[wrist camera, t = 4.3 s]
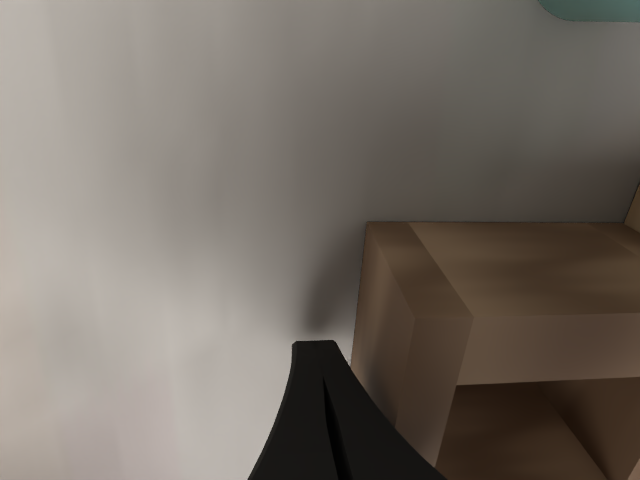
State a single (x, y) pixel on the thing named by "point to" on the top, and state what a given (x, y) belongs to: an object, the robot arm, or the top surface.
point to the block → (505, 346)
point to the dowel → (594, 10)
